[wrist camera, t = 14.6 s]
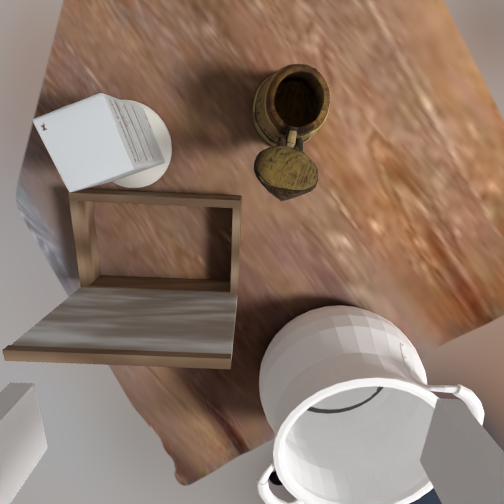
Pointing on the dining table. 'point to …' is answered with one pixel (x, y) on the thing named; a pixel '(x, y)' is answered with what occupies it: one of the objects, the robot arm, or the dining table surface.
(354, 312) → the pot
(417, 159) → the dining table surface
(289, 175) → the wooden mug
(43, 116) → the supplement box
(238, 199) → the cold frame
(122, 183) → the saucer
